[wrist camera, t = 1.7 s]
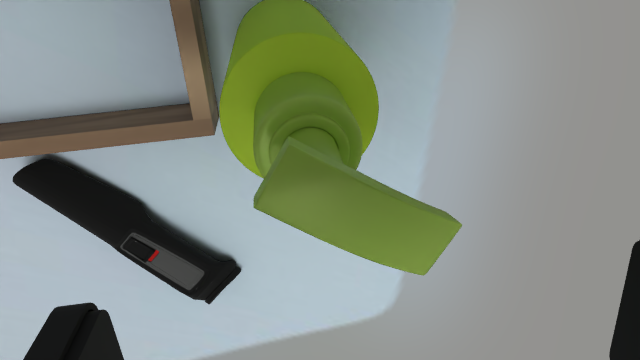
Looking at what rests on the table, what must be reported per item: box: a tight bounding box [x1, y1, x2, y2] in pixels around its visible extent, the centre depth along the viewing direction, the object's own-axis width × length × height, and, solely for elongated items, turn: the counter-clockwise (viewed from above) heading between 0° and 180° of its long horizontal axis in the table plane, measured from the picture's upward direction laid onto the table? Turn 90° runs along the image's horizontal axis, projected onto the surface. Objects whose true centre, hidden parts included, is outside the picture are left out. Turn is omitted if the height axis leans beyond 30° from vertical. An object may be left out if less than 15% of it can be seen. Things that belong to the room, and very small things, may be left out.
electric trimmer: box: [13, 158, 241, 304], centre depth 33 cm, size 4×16×3 cm, turn 47°
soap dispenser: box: [219, 0, 462, 275], centre depth 21 cm, size 6×7×20 cm
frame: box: [0, 0, 219, 159], centre depth 26 cm, size 13×18×4 cm
